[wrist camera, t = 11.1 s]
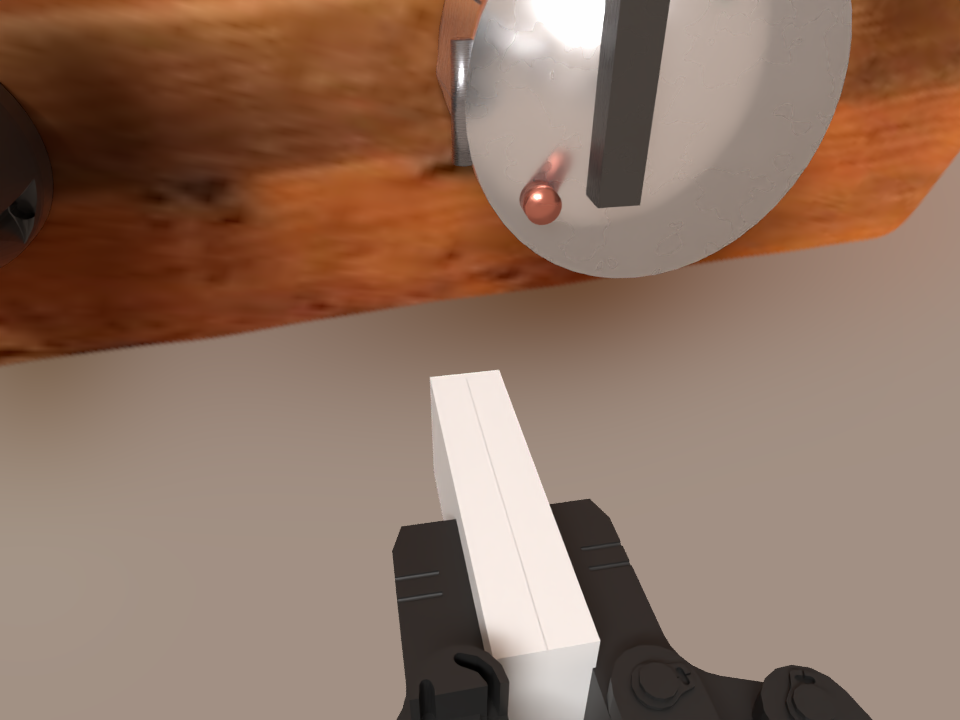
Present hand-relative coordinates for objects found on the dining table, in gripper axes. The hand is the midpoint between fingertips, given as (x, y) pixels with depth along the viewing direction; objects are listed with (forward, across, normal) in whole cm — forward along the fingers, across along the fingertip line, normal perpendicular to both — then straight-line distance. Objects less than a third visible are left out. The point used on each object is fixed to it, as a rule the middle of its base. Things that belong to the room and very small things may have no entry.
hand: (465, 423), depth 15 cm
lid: (+24, +14, +1) cm, 28 cm away
